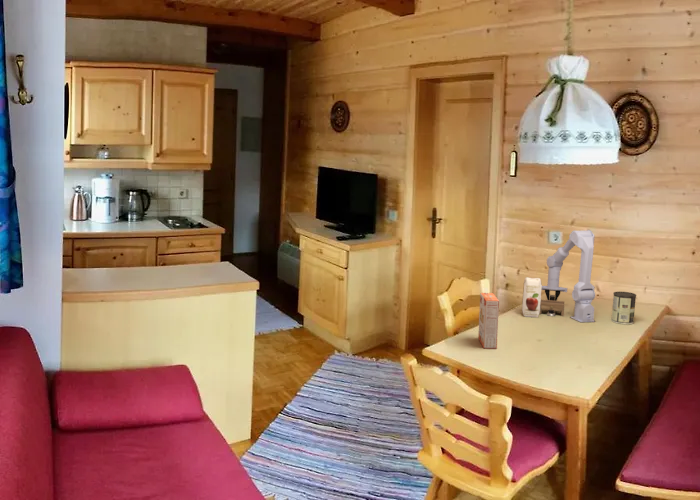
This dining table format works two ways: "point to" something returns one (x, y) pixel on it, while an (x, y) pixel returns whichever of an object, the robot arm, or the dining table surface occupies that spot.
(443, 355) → the dining table surface
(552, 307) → the walnut u-shaped block
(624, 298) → the coffee can
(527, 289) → the juice carton
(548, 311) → the brown-topped white block
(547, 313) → the steel token
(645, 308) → the dining table surface
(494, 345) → the cracker box
